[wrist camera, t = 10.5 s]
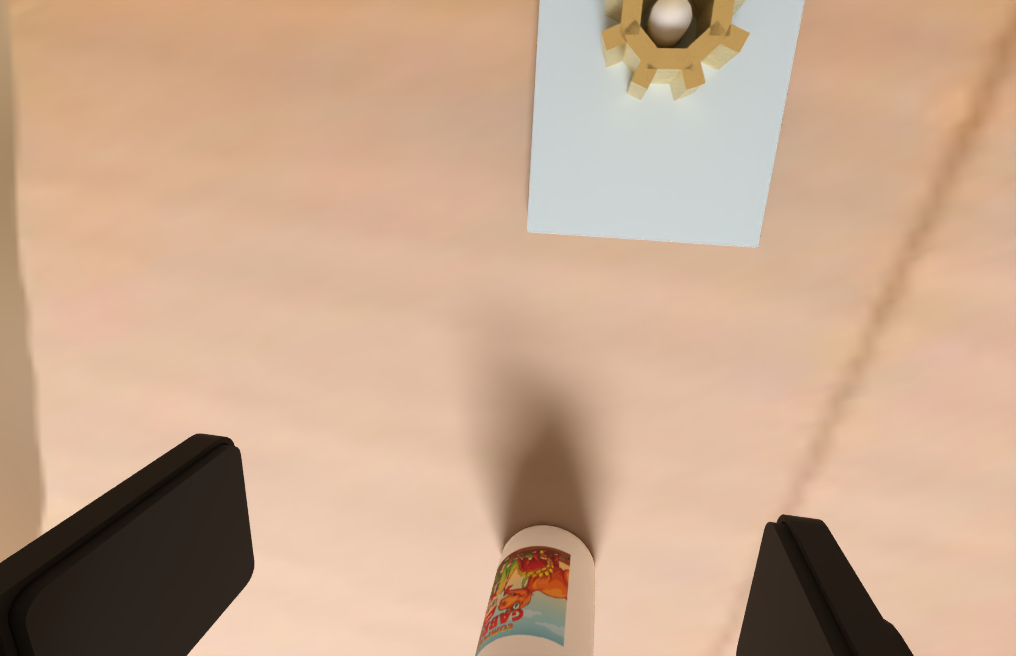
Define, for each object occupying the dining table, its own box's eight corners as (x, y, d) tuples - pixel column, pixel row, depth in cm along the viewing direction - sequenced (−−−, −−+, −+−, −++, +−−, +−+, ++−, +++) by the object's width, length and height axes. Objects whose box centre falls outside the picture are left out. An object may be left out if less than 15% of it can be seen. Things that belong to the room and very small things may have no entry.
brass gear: (740, -38, 28) (768, -79, 23) (719, 102, 30) (740, 91, 25) (609, -37, 29) (610, -76, 24) (597, 99, 31) (596, 87, 26)
